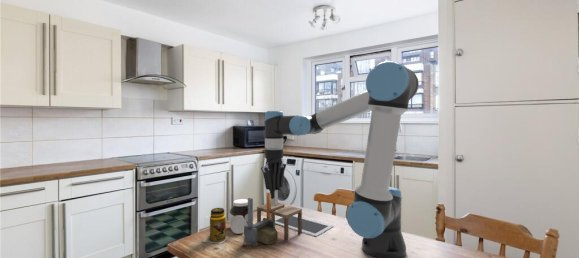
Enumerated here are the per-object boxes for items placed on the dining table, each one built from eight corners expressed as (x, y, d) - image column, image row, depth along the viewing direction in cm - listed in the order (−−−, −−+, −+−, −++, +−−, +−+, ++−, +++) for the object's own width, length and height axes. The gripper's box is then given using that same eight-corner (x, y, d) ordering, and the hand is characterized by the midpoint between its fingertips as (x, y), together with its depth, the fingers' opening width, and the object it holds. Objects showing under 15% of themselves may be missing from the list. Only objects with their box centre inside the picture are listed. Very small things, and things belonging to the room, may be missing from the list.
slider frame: (275, 236, 109) (275, 194, 108) (255, 246, 100) (254, 200, 100) (264, 232, 112) (264, 191, 112) (244, 241, 104) (243, 197, 103)
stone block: (268, 246, 102) (268, 233, 102) (247, 238, 109) (247, 226, 109) (278, 241, 106) (278, 228, 106) (257, 234, 113) (257, 222, 113)
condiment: (222, 243, 104) (222, 212, 104) (201, 242, 105) (201, 211, 105) (229, 235, 111) (229, 206, 111) (210, 234, 112) (209, 205, 112)
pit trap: (333, 226, 120) (333, 225, 120) (316, 236, 110) (316, 235, 110) (288, 214, 137) (288, 213, 137) (269, 221, 126) (269, 221, 126)
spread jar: (248, 222, 126) (247, 197, 126) (259, 230, 117) (259, 203, 117) (223, 227, 120) (222, 201, 119) (233, 236, 110) (233, 208, 110)
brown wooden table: (301, 233, 114) (301, 208, 113) (286, 241, 106) (286, 215, 106) (273, 223, 124) (272, 201, 124) (257, 230, 116) (257, 207, 116)
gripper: (277, 146, 119) (278, 200, 120) (256, 149, 109) (256, 207, 110) (291, 148, 114) (291, 203, 115) (269, 150, 104) (269, 211, 105)
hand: (274, 205), depth 112 cm, fingers closed
